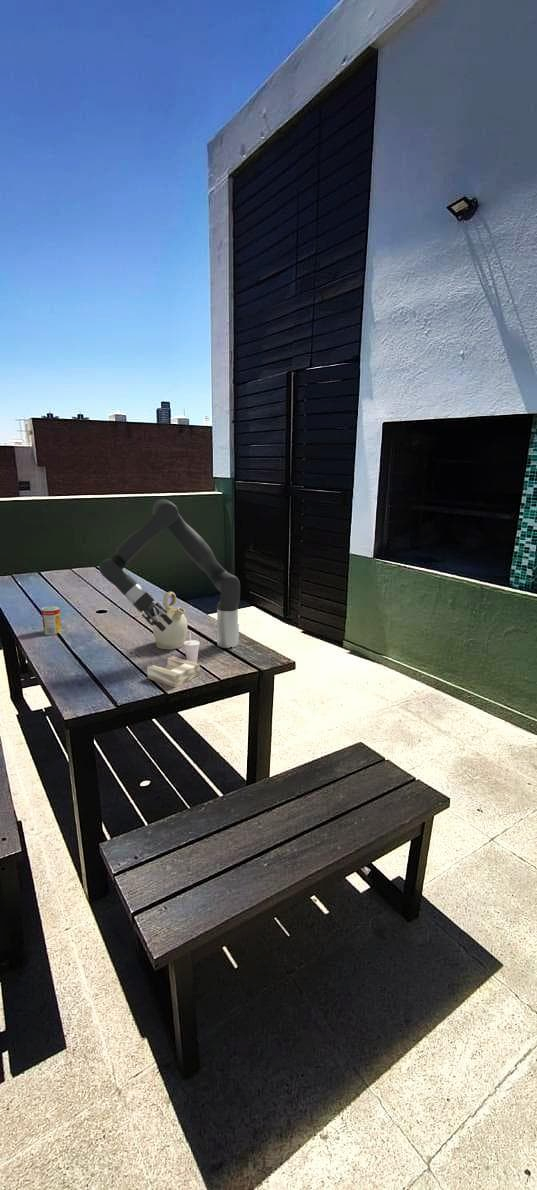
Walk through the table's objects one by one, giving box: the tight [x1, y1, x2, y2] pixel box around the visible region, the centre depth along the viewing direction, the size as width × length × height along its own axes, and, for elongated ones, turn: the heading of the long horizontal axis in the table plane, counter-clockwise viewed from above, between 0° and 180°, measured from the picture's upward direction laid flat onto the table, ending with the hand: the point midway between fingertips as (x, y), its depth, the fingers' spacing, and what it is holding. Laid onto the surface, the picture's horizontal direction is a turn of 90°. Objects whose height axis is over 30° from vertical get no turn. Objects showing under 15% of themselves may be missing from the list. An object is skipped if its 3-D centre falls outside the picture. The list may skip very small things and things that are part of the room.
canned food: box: [41, 605, 63, 636], centre depth 232 cm, size 8×8×12 cm
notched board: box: [146, 655, 201, 688], centre depth 187 cm, size 14×14×4 cm
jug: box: [152, 591, 188, 650], centre depth 218 cm, size 15×16×25 cm
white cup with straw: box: [183, 631, 201, 663], centre depth 198 cm, size 6×6×14 cm
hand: (167, 626), depth 197 cm, fingers open, 8 cm apart
